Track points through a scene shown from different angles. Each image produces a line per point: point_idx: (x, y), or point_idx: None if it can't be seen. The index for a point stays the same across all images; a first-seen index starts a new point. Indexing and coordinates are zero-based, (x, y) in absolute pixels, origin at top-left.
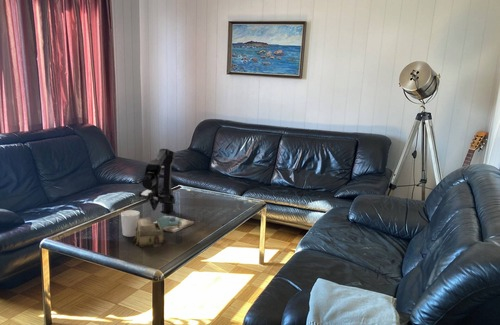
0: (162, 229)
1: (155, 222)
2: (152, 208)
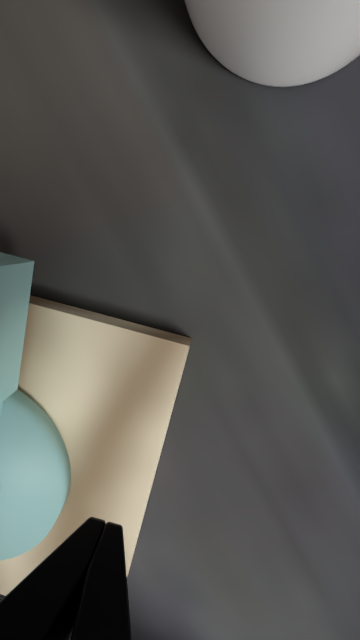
0: None
1: (149, 412)
2: (115, 560)
